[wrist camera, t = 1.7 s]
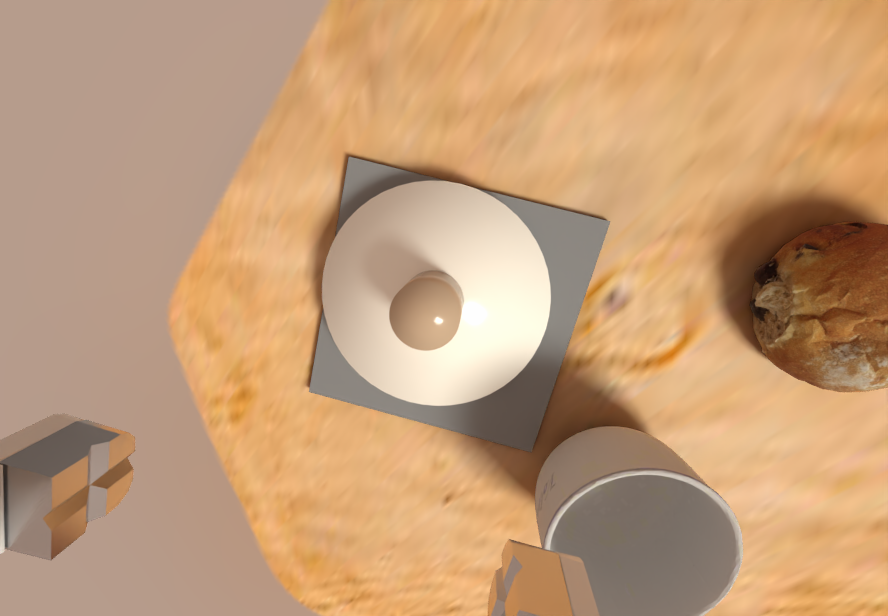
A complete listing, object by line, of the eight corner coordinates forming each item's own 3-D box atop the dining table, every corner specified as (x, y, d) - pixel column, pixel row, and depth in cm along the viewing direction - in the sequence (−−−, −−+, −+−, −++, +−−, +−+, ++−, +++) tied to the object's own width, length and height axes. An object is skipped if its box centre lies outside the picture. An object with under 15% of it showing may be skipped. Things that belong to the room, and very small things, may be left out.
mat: (608, 221, 26) (610, 221, 26) (530, 449, 31) (531, 452, 30) (350, 157, 27) (348, 156, 26) (311, 389, 31) (309, 391, 31)
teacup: (509, 428, 30) (517, 505, 23) (660, 385, 28) (724, 453, 21) (566, 578, 33) (591, 692, 25) (708, 548, 31) (781, 661, 23)
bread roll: (764, 366, 31) (887, 446, 24) (698, 307, 26) (830, 387, 20) (876, 260, 29) (1049, 317, 22) (827, 174, 24) (1029, 212, 17)
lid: (578, 213, 26) (600, 216, 21) (512, 421, 30) (517, 465, 25) (348, 156, 26) (316, 145, 21) (313, 367, 30) (278, 399, 25)
